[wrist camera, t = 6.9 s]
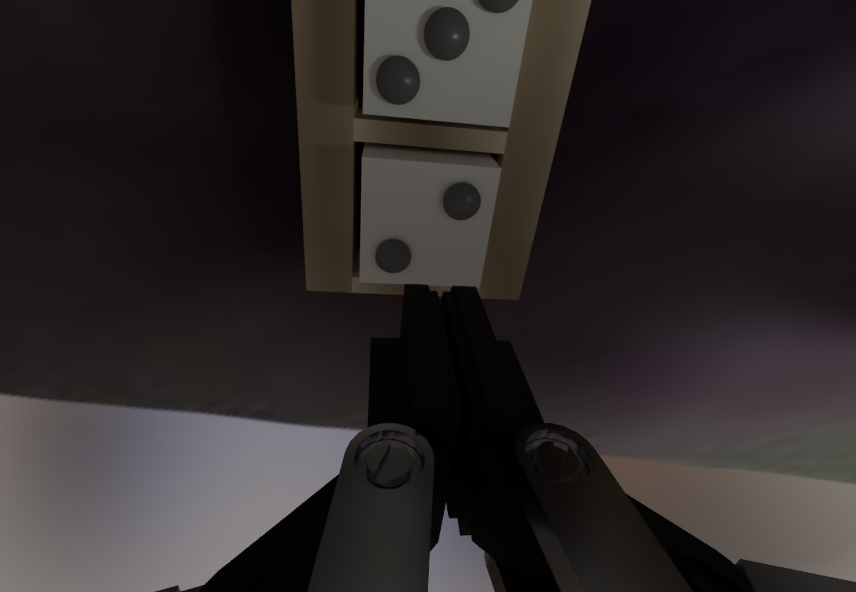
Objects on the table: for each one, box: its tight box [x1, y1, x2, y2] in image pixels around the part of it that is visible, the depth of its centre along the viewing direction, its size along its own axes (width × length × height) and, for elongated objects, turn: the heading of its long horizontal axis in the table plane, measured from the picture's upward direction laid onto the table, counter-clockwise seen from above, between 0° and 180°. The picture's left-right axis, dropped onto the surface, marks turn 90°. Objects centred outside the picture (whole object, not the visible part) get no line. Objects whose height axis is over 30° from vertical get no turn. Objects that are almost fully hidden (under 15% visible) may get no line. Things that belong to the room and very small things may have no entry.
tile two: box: [359, 142, 502, 288], centre depth 18 cm, size 5×5×3 cm
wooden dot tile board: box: [291, 0, 591, 300], centre depth 16 cm, size 10×21×3 cm, turn 174°
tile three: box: [363, 0, 533, 127], centre depth 14 cm, size 5×5×3 cm
